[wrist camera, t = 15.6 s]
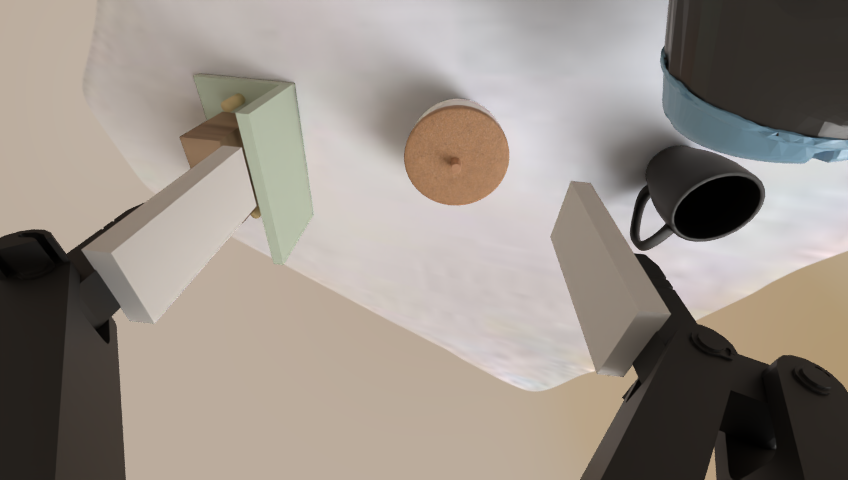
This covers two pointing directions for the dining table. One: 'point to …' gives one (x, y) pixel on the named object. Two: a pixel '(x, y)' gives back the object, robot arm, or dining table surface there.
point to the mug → (696, 196)
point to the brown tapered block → (214, 140)
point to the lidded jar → (456, 153)
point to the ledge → (267, 151)
